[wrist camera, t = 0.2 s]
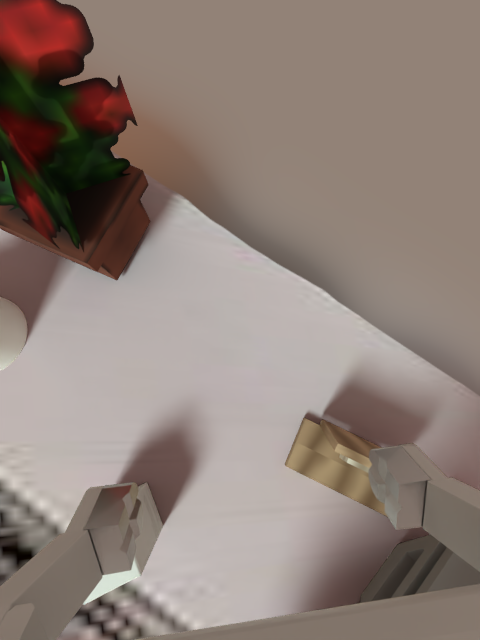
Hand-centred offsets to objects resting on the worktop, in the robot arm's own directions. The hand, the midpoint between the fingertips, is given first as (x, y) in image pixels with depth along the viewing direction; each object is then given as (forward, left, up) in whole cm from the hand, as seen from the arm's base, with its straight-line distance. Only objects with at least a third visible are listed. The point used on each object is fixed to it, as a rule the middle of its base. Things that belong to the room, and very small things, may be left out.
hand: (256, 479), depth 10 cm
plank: (-22, -16, -46) cm, 53 cm away
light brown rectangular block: (-24, -12, -54) cm, 60 cm away
